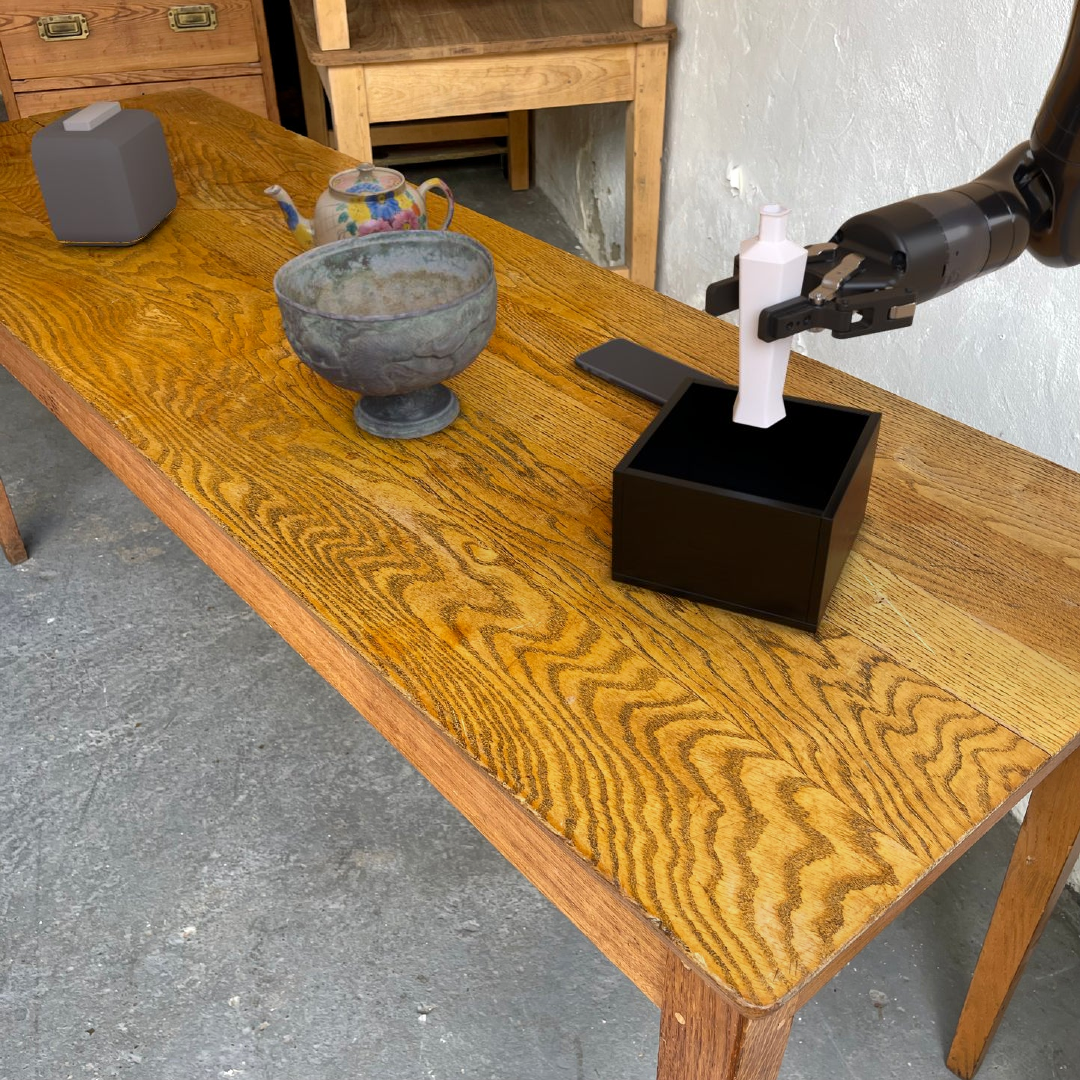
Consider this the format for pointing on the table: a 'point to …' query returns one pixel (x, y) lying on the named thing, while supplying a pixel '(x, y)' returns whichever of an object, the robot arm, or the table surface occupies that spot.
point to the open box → (743, 503)
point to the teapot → (361, 206)
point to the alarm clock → (104, 174)
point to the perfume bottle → (763, 281)
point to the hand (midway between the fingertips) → (735, 314)
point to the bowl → (391, 322)
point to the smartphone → (638, 369)
